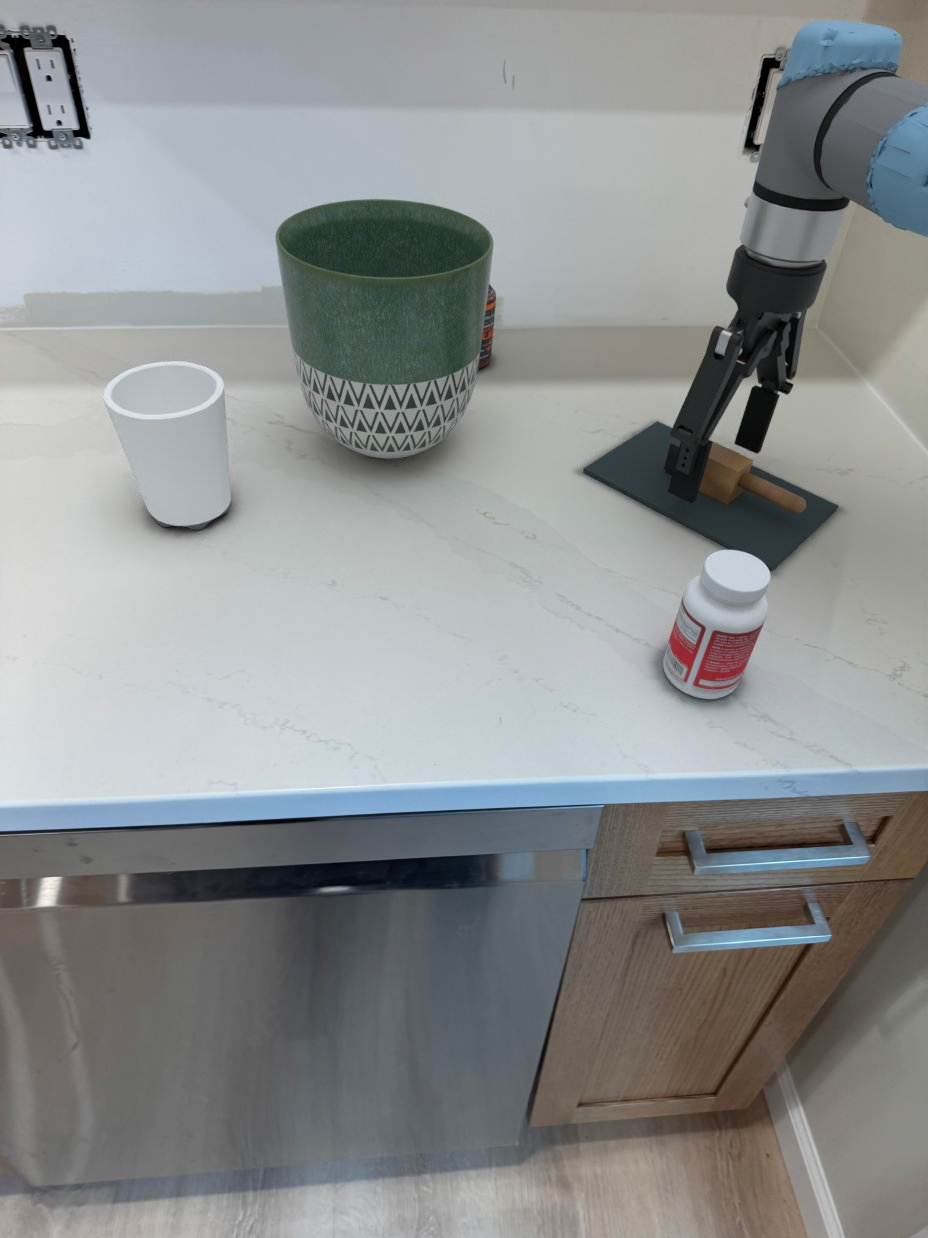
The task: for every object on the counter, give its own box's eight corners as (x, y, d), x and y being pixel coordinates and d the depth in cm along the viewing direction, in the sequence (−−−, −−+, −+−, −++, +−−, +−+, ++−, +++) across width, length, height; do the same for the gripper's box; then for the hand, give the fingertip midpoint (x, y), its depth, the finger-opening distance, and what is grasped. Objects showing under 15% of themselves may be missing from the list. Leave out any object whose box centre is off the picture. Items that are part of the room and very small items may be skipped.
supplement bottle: (479, 376, 100) (485, 283, 92) (435, 364, 102) (437, 272, 94) (498, 356, 104) (506, 265, 96) (456, 345, 106) (460, 255, 98)
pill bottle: (749, 668, 67) (794, 565, 59) (720, 714, 63) (763, 611, 56) (680, 634, 69) (714, 531, 62) (648, 677, 66) (680, 573, 58)
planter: (301, 395, 95) (282, 195, 80) (469, 395, 96) (481, 200, 82) (291, 495, 81) (266, 276, 66) (487, 493, 83) (506, 280, 68)
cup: (147, 551, 74) (111, 427, 65) (128, 491, 80) (94, 370, 71) (256, 526, 77) (237, 405, 68) (230, 470, 83) (209, 352, 74)
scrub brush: (803, 522, 81) (817, 489, 78) (789, 536, 79) (803, 502, 76) (677, 461, 88) (686, 428, 85) (662, 472, 86) (670, 439, 83)
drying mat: (837, 509, 84) (838, 505, 83) (771, 571, 76) (773, 567, 76) (656, 424, 94) (657, 420, 94) (582, 471, 86) (583, 467, 86)
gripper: (807, 209, 77) (742, 415, 91) (664, 274, 63) (615, 503, 78) (885, 231, 73) (804, 441, 88) (751, 305, 60) (683, 538, 74)
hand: (715, 471), depth 83 cm, fingers open, 12 cm apart
